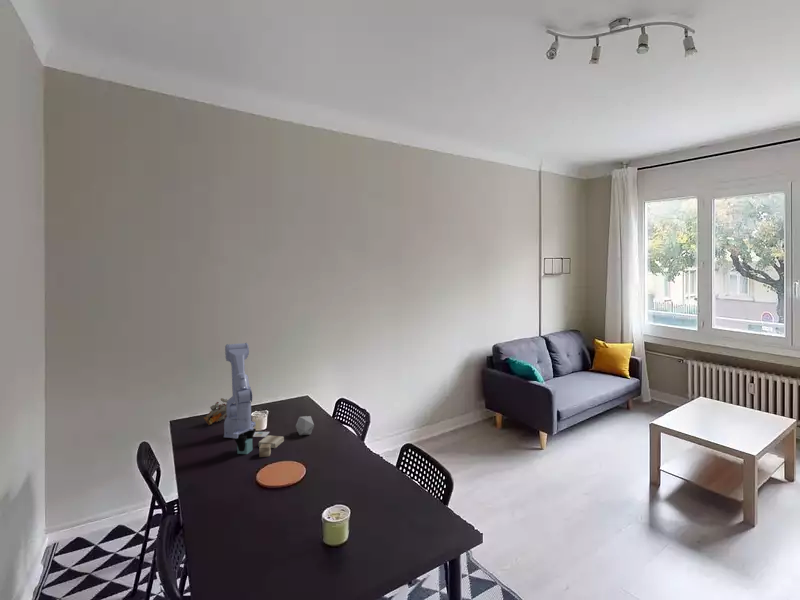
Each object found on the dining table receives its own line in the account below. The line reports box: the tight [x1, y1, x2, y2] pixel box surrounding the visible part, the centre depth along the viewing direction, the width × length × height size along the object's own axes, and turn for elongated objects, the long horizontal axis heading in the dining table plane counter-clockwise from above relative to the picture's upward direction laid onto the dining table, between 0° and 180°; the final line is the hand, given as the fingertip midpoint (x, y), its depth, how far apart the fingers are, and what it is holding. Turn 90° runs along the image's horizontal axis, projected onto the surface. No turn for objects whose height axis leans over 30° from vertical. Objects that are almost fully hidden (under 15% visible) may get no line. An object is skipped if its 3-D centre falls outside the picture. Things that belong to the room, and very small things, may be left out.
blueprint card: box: [253, 431, 270, 438], centre depth 200 cm, size 8×6×1 cm
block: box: [258, 443, 272, 458], centre depth 178 cm, size 4×4×4 cm
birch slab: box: [258, 434, 285, 449], centre depth 189 cm, size 8×8×2 cm
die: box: [295, 415, 315, 436], centre depth 201 cm, size 8×9×10 cm
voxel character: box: [203, 398, 233, 426], centre depth 215 cm, size 11×10×15 cm
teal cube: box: [236, 438, 254, 455], centre depth 181 cm, size 4×4×5 cm
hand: (244, 448), depth 181 cm, fingers closed on teal cube, 4 cm apart
